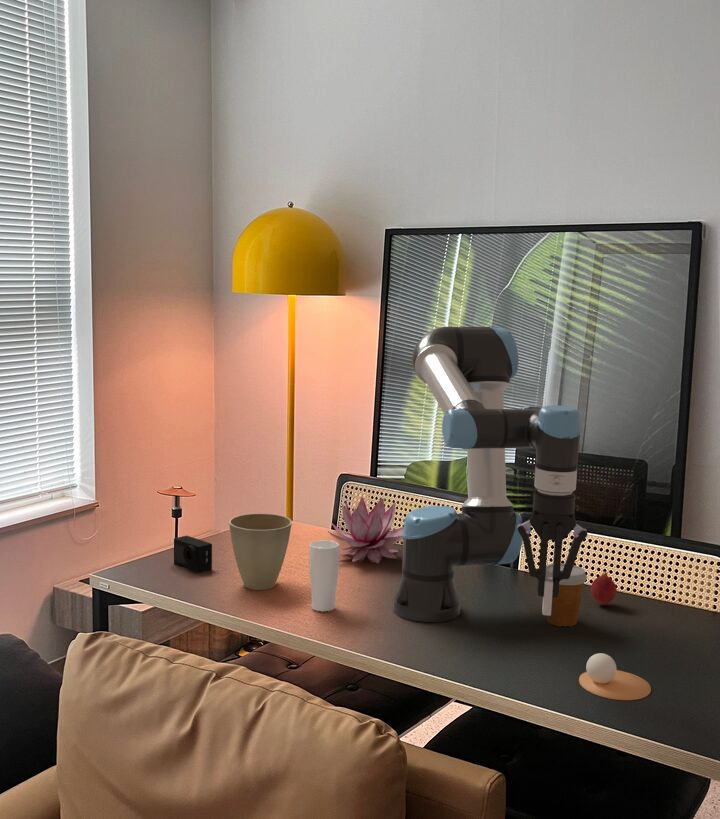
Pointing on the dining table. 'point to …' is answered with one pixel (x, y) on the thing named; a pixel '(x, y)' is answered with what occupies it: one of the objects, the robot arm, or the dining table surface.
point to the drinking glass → (323, 574)
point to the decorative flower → (369, 531)
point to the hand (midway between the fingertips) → (546, 612)
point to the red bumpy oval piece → (603, 589)
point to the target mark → (617, 686)
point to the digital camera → (193, 554)
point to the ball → (601, 668)
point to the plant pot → (260, 547)
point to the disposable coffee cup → (567, 597)
